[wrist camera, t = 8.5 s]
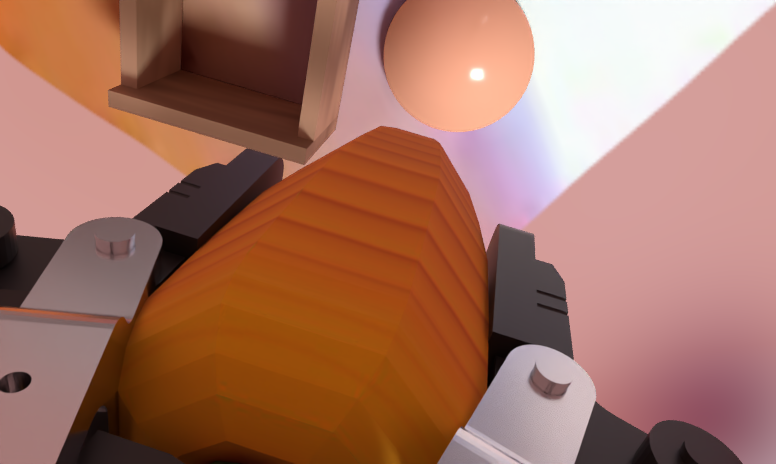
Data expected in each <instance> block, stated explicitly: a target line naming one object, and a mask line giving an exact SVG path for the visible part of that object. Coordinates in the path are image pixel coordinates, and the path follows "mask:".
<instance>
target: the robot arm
mask: <svg viewBox="0 0 776 464" xmlns="http://www.w3.org/2000/svg"><path fill="white" fill-rule="evenodd" d="M283 169H284V164H283V160H282V158H279V157H275V156H272V155H269V154H265V153H262V152H259V151H255V150H252V149H245V150H244V151H243V152H242V153H240V154H239V155H238V156H237V157H236V158H235V159H233V160H232V161H231V162H230V163H229V164H227V165H222V164H219V163H215V164H212V165H209V166H206V167H202V168H199V169H196V170H194V171H193V172H192V173H190V174H189V175H188V176H187V177H185V178H184V179H183V180H182V181H181V183H178V184H176V185H175V186H174V187H172V188H171V189H170V190H169V193H168V192H166V193H165V194H163V195H162V196H161V197H160V198H158V199H157V200H156V201H155V202H153V203H152V204H150V205H149V206H148V207H147V208H145V209H144V210H143V211H142V212H140V213H139V214H138V215H136V216H135V217H134V218H132V219H131V218H124V217H110V218H109V217H108V218H100V219H95V220H92V221H88V222H86V223H83V224H81V225H79V226H77V227H76V228H74V229H73V230H72V231H71V232H70V233H69V234H68V235H67V237H66V238H65V240H63V239H51V238H40V237H30V236H20V235H16V229H15V222H14V217H13V215H12V214H11V212H10V211H8V210H7V209H6V208H4V207H2V206H0V464H185V463H183V462H182V461H180V460H179V459H177V458H176V457H174V456H173V455H171V454H169V453H166V452H163V451H160V450H157V449H154V448H151V447H148V446H145V445H142V444H139V443H136V442H133V441H130V440H127V439H124V438H121V437H120V435H119V405H118V387H119V382H120V376H121V371H122V366H123V361H124V355H125V350H126V346H127V343H128V341H129V338H130V335H131V332H132V330H133V327H134V324H135V321H136V319H137V317H138V315H139V313H140V311H141V309H142V307H143V305H144V303H145V302H146V300H147V299H148V297H149V296H150V295H151V294H152V293H154V292H155V291H156V290H157V289H158V288H159V287H160V286H161V285H162V284H163V283H164V282H165V281H166V280H167V279H168V278H169V277H170V276H171V275H172V274H173V273H174V272H175V271H176V270H177V269H179V268H180V267H181V266H182V265H183V264H184V263H185V262H186V261H187V260H188V259H189V258H190V257H191V256H192V255H193V254H194V253H195V252H196V251H197V250H198V249H199V248H200V247H201V246H202V245H204V244H205V243H206V242H207V241H208V240H209V239H210V238H211V237H212V236H213V235H214V234H215V233H217V232H218V231H219V230H220V229H221V228H222V227H223V226H224V225H226V224H227V223H228V222H229V221H230V220H231V219H232V218H234V217H235V216H236V215H237V214H238V213H239V212H240V211H242V210H243V209H244V208H245V207H246V206H247V205H248V204H250V203H251V202H252V201H253V200H254V199H255V198H256V197H258V196H259V195H260V194H261V193H262V192H263V191H265V190H267V189H268V188H270V187H272V186H273V185H275V184H277V183H278V182H280V181H282V177H283ZM486 255H487V260H488V299H489V334H488V376H487V391H486V393H485V395H484V396H483V398H482V400H481V401H480V403H479V404H478V406H477V408H476V409H475V411H474V413H473V414H472V416H471V418H470V419H469V421H468V423H467V424H466V426H465V428H464V427H462V426H461V427H460V428H459V430H458V431H457V432H456V434H455V435H454V437H453V439H452V440H451V442H450V443H449V445H448V447H447V448H446V450H445V452H444V453H443V455H442V456H441V458H440V460H439V461H438V463H437V464H742V462H741V461H740V460H739V458H738V457H737V456H736V455H735V454H734V453H733V452H732V451H731V450H730V449H729V448H728V447H727V446H726V445H725V444H723V443H722V442H721V441H720V440H718V439H717V438H716V437H714V436H713V435H711V434H709V433H708V432H706V431H704V430H702V429H701V428H698V427H696V426H694V425H691V424H688V423H685V422H681V421H674V420H667V421H662V422H659V423H657V424H656V425H655V426H654V427H653V428H652V430H651V431H650V432H649V434H646V433H644V432H643V431H641V430H639V429H638V428H636V427H634V426H632V425H631V424H629V423H627V422H625V421H624V420H622V419H620V418H618V417H616V416H615V415H613V414H612V413H610V412H608V411H607V410H605V409H604V408H603V407H602V406H600V405H599V404H598V403H597V402H596V401H595V399H596V390H595V387H594V384H593V382H592V380H591V378H590V377H589V375H588V374H587V373H586V372H585V371H584V370H583V368H582V367H581V366H580V365H579V364H577V363H576V362H575V361H574V358H573V350H572V341H571V333H570V325H569V317H568V316H567V314H568V309H567V302H566V292H565V285H564V284H565V283H564V281H563V279H562V278H561V276H560V275H559V273H558V272H557V271H556V269H555V268H554V266H553V265H552V264H549V263H545V262H542V261H539V260H536V259H535V242H534V234H532V233H528V232H525V231H522V230H518V229H515V228H512V227H508V226H505V225H502V224H498V225H497V227H496V229H495V231H494V234H493V236H492V239H491V241H490V244H489V247H488V249H487V252H486Z"/></svg>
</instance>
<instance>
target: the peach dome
mask: <svg viewBox="0 0 776 464" xmlns="http://www.w3.org/2000/svg"><path fill="white" fill-rule="evenodd" d="M533 65H534V41H533V35H532V31H531V27H530V25H529V22H528V20H527V17H526V16H525V14H524V12H523V10H522V9H521V7H520V6H519V5H518V3H517V2H516V1H515V0H407V1H405V2H404V3H403V5H402V6H401V7H400V9H399V10H398V11H397V13H396V14H395V16H394V18H393V20H392V21H391V24H390V26H389V29H388V31H387V35H386V39H385V44H384V69H385V73H386V78H387V81H388V83H389V86H390V88H391V90H392V92H393V94H394V96H395V98H396V99H397V101H398V102H399V103H400V105H401V106H402V107H403V108H404V109H405V110H406V111H407V112H408V113H409V114H410V115H411V116H413V117H414V118H415V119H417V120H418V121H420V122H422V123H424V124H426V125H428V126H430V127H433V128H436V129H439V130H443V131H450V132H466V131H472V130H476V129H480V128H483V127H485V126H488V125H490V124H492V123H494V122H496V121H497V120H499V119H501V118H502V117H503V116H504V115H506V114H507V113H508V112H509V111H510V110H511V109H512V108H513V107H514V106H515V105H516V104H517V102H518V101H519V100H520V98H521V97H522V95H523V94H524V92H525V90H526V88H527V86H528V83H529V81H530V78H531V75H532V71H533Z"/></svg>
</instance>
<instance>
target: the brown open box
mask: <svg viewBox="0 0 776 464" xmlns="http://www.w3.org/2000/svg"><path fill="white" fill-rule="evenodd" d="M358 3H359V0H318V1H317V8H316V14H315V21H314V28H313V35H312V41H311V48H310V55H309V62H308V68H307V75H306V82H305V89H304V95H303V102H302V105H300V104H297V103H294V102H290V101H287V100H283V99H280V98H276V97H273V96H270V95H266V94H263V93H259V92H256V91H252V90H249V89H246V88H242V87H239V86H235V85H232V84H228V83H225V82H222V81H218V80H215V79H211V78H208V77H204V76H201V75H198V74H194V73H191V72H187V71H184V70H181V45H182V13H183V0H119V10H120V51H121V85H119V86H117V87H114V88H112V89H109V90H108V101H109V107H112V108H115V109H118V110H122V111H125V112H128V113H132V114H135V115H139V116H142V117H145V118H149V119H152V120H155V121H159V122H162V123H165V124H169V125H172V126H175V127H179V128H182V129H185V130H189V131H192V132H195V133H199V134H202V135H206V136H209V137H212V138H216V139H219V140H222V141H226V142H229V143H232V144H236V145H239V146H242V147H246V148H249V149H252V150H256V151H259V152H262V153H266V154H269V155H273V156H276V157H279V158H283V159H286V160H289V161H293V162H296V163H299V164H303V165H305V164H306V162H307V161H308V160H309V159H310V158H311V157H312V156H313V154H314V153H315V152H316V151H317V150H318V149H319V148H320V146H321V145H322V144H323V143H324V142H325V141H326V140H327V138H328V137H329V136H330V135H331V134H332V133H333V132H334V130H335V128H336V123H337V118H338V112H339V107H340V101H341V96H342V90H343V85H344V80H345V74H346V69H347V63H348V58H349V52H350V47H351V42H352V36H353V31H354V25H355V20H356V14H357V9H358Z"/></svg>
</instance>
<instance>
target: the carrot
mask: <svg viewBox="0 0 776 464" xmlns="http://www.w3.org/2000/svg"><path fill="white" fill-rule="evenodd" d="M488 334H489V299H488V260H487V255H486V251H485V247H484V243H483V238H482V234H481V230H480V225H479V222H478V219H477V216H476V213H475V210H474V207H473V204H472V201H471V198H470V195H469V192H468V191H467V189H466V187H465V185H464V184H463V182H462V180H461V179H460V177H459V175H458V173H457V172H456V170H455V168H454V167H453V165H452V163H451V161H450V160H449V158H448V156H447V155H446V153H445V151H444V149H443V148H442V146H441V144H440V143H439V142H437V141H436V140H435V139H432V138H428V137H425V136H421V135H418V134H415V133H411V132H408V131H404V130H401V129H398V128H392V127H385V126H380V127H378V128H376V129H374V130H372V131H369V132H367V133H365V134H363V135H361V136H359V137H358V138H356V139H354V140H352V141H350V142H349V143H347V144H345V145H343V146H341V147H340V148H338V149H336V150H334V151H332V152H331V153H329V154H327V155H325V156H323V157H322V158H320V159H318V160H316V161H314V162H313V163H311V164H309V165H307V166H305V167H304V168H302V169H300V170H298V171H297V172H295V173H293V174H292V175H290V176H288V177H287V178H285V179H283V180H282V181H280V182H278V183H277V184H275V185H273V186H272V187H270V188H268V189H267V190H265V191H263V192H262V193H261V194H260V195H259V196H258V197H256V198H255V199H254V200H253V201H252V202H251V203H250V204H248V205H247V206H246V207H245V208H244V209H243V210H242V211H240V212H239V213H238V214H237V215H236V216H235V217H234V218H232V219H231V220H230V221H229V222H228V223H227V224H226V225H224V226H223V227H222V228H221V229H220V230H219V231H218V232H217V233H215V234H214V235H213V236H212V237H211V238H210V239H209V240H208V241H207V242H206V243H205V244H204V245H202V246H201V247H200V248H199V249H198V250H197V251H196V252H195V253H194V254H193V255H192V256H191V257H190V258H189V259H188V260H187V261H186V262H185V263H184V264H183V265H182V266H181V267H180V268H179V269H177V270H176V271H175V272H174V273H173V274H172V275H171V276H170V277H169V278H168V279H167V280H166V281H165V282H164V283H163V284H162V285H161V286H160V287H159V288H158V289H157V290H156V291H155V292H154V293H152V294H151V295H150V296H149V297H148V299H147V300H146V302H145V303H144V305H143V307H142V309H141V311H140V313H139V315H138V317H137V319H136V321H135V324H134V327H133V330H132V332H131V335H130V338H129V341H128V343H127V346H126V350H125V355H124V361H123V366H122V371H121V376H120V382H119V387H118V405H119V435H120V437H121V438H124V439H127V440H130V441H133V442H136V443H139V444H142V445H145V446H148V447H151V448H154V449H157V450H160V451H163V452H166V453H169V454H171V455H173V456H174V457H176V458H177V459H179V460H180V461H182V462H183V463H185V464H437V463H438V461H439V460H440V458H441V456H442V455H443V453H444V452H445V450H446V448H447V447H448V445H449V443H450V442H451V440H452V439H453V437H454V435H455V434H456V432H457V431H458V430H459V428H460V427H461V426H462V427H464V428H465V426H466V424H467V423H468V421H469V419H470V418H471V416H472V414H473V413H474V411H475V409H476V408H477V406H478V404H479V403H480V401H481V400H482V398H483V396H484V395H485V393H486V391H487V376H488Z"/></svg>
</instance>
